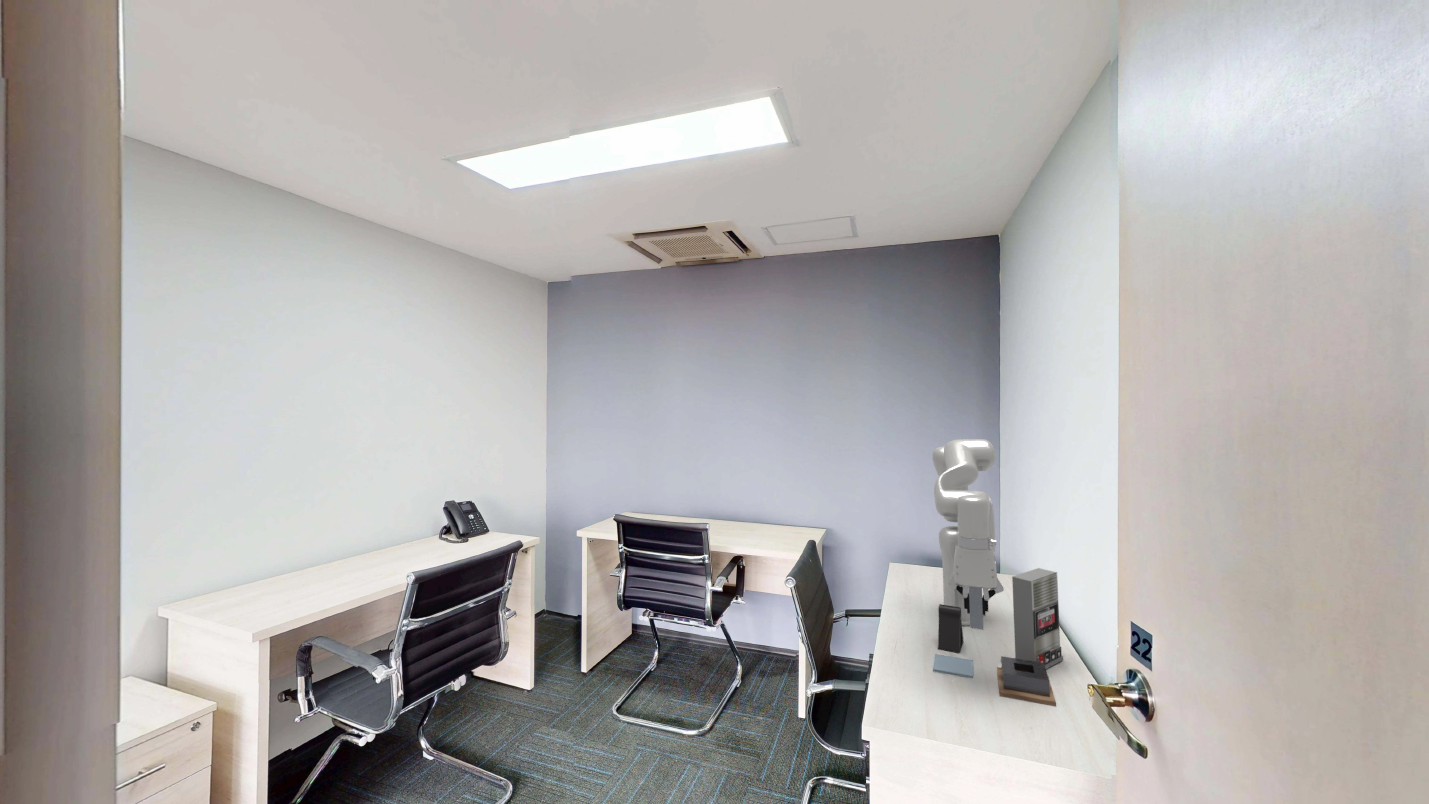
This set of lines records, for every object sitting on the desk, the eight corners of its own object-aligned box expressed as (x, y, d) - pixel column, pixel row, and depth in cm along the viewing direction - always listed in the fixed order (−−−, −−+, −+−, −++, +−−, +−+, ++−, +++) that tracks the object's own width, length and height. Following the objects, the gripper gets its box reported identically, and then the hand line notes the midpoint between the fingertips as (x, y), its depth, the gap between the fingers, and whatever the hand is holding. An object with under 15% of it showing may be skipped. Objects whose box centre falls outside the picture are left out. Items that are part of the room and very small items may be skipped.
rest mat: (935, 655, 156) (935, 653, 156) (972, 661, 151) (972, 659, 151) (933, 671, 147) (933, 669, 147) (973, 678, 142) (973, 676, 142)
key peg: (970, 623, 141) (969, 582, 141) (983, 625, 140) (981, 583, 140) (970, 627, 138) (968, 585, 139) (983, 629, 137) (981, 587, 137)
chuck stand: (997, 670, 146) (997, 666, 146) (1048, 679, 141) (1048, 675, 141) (999, 695, 133) (999, 691, 133) (1055, 706, 128) (1055, 701, 128)
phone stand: (959, 653, 157) (958, 613, 157) (937, 649, 160) (936, 609, 160) (963, 642, 164) (962, 603, 164) (943, 638, 167) (941, 599, 168)
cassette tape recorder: (1037, 674, 143) (1033, 582, 144) (1015, 665, 148) (1011, 576, 149) (1064, 661, 150) (1060, 572, 151) (1041, 653, 156) (1038, 567, 156)
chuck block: (1001, 670, 144) (1001, 656, 144) (1044, 678, 140) (1044, 662, 140) (1003, 688, 135) (1003, 673, 135) (1049, 697, 130) (1049, 680, 131)
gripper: (1008, 542, 139) (1011, 612, 139) (941, 537, 146) (943, 603, 146) (1010, 549, 132) (1012, 623, 132) (939, 543, 140) (941, 613, 140)
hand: (976, 612), depth 139 cm, fingers closed on key peg, 3 cm apart
